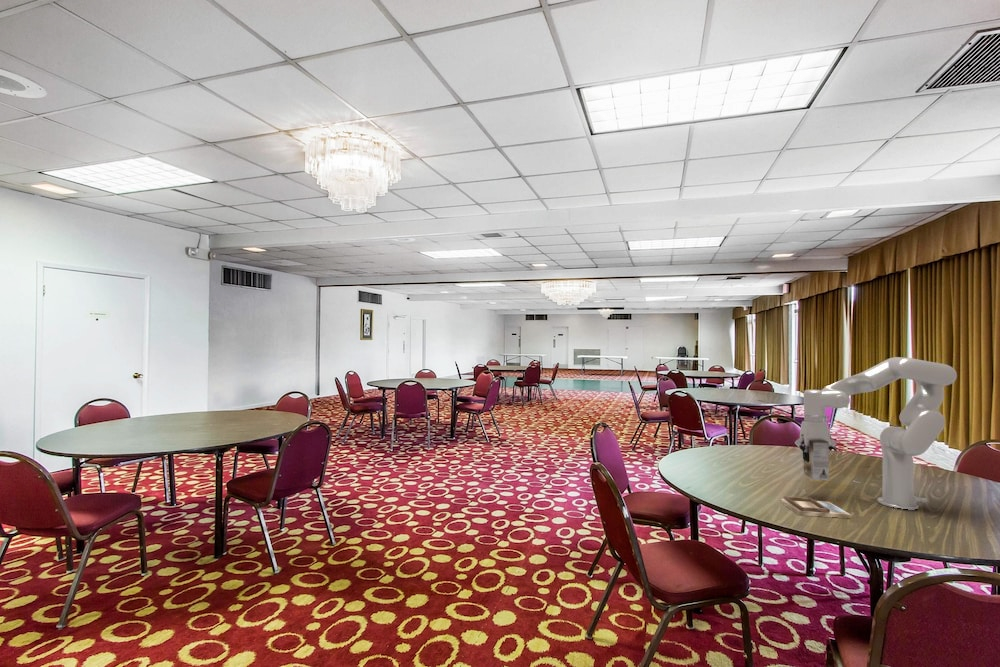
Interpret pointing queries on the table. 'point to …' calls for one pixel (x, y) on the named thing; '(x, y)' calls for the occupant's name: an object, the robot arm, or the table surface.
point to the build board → (813, 507)
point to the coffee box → (817, 460)
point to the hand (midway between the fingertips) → (815, 461)
